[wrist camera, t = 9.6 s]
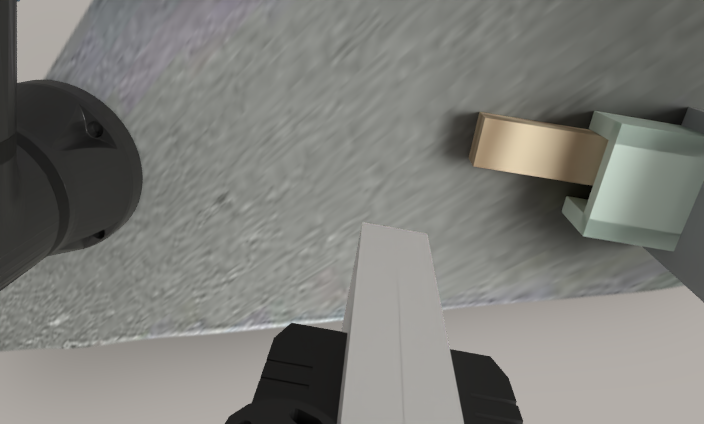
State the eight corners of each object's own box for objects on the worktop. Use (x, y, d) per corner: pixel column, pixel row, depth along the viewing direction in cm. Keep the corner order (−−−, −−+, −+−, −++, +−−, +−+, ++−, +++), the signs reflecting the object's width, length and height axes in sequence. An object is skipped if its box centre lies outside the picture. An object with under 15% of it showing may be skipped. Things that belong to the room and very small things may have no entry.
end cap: (556, 227, 46) (610, 295, 35) (600, 92, 42) (678, 120, 31) (649, 243, 46) (733, 316, 35) (702, 109, 42) (818, 144, 31)
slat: (467, 157, 45) (473, 166, 42) (478, 111, 43) (485, 117, 41) (628, 182, 45) (644, 193, 42) (644, 137, 43) (661, 146, 41)
